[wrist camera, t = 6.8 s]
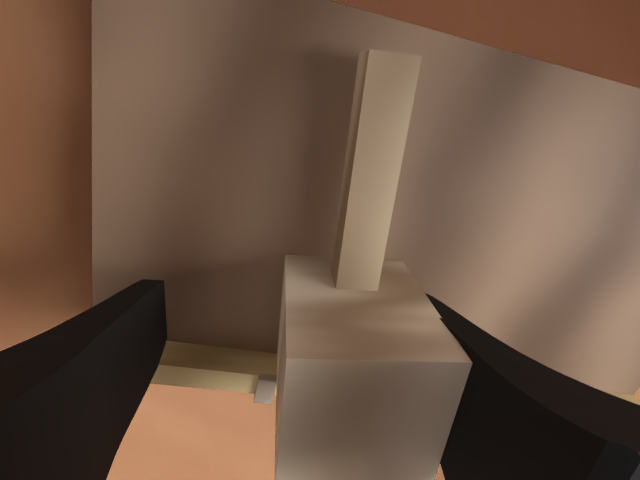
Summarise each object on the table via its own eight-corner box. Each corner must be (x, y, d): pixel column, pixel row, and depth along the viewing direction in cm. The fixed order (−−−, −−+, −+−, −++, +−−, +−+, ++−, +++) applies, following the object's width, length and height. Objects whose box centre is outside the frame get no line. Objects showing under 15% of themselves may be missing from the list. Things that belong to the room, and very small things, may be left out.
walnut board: (740, 130, 14) (876, 143, 11) (588, 378, 18) (654, 440, 15) (125, -40, 10) (54, -98, 7) (116, 319, 15) (69, 385, 11)
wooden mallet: (443, 67, 10) (574, 53, 6) (382, 356, 14) (431, 487, 9) (301, 49, 10) (317, 17, 5) (277, 353, 14) (274, 491, 9)
